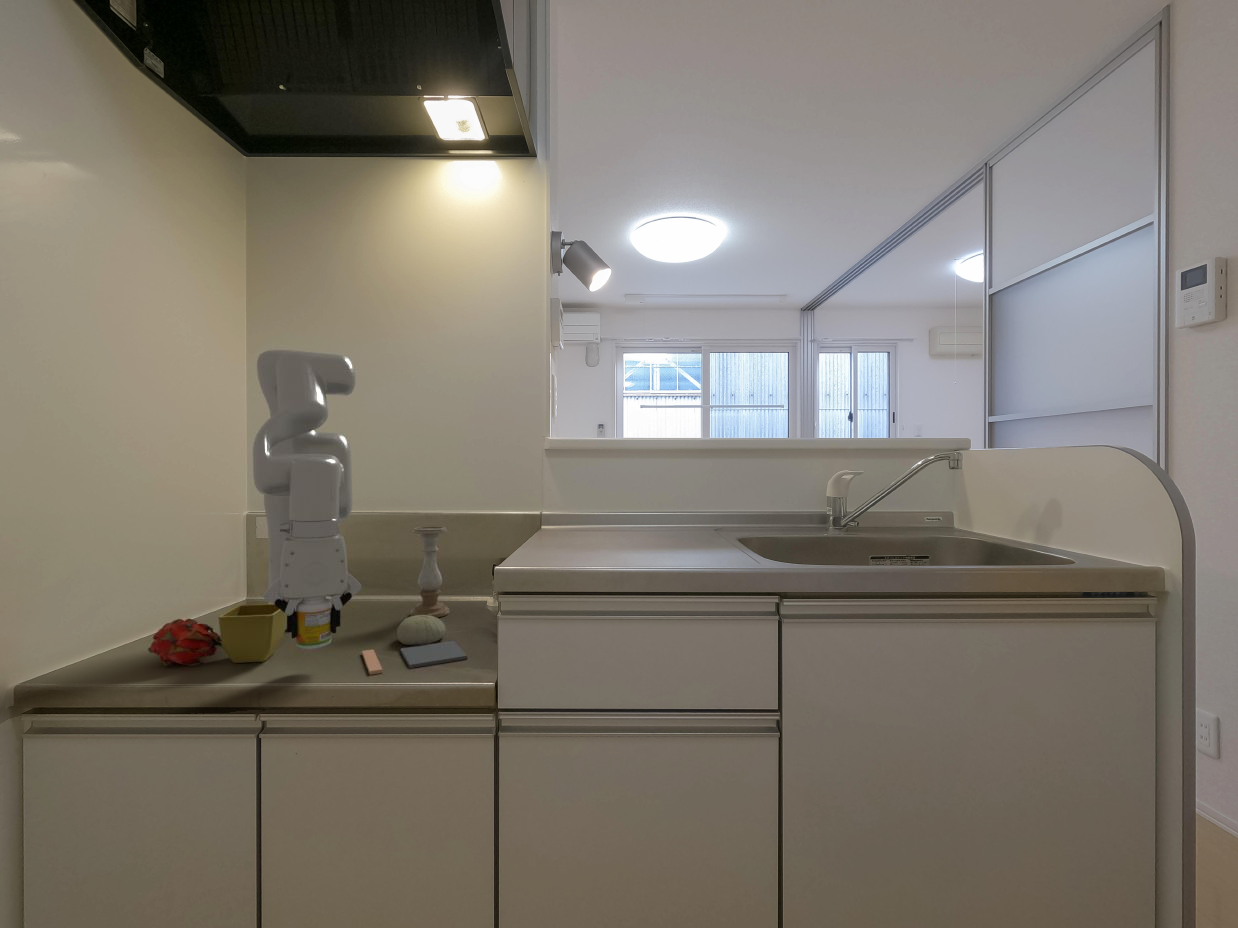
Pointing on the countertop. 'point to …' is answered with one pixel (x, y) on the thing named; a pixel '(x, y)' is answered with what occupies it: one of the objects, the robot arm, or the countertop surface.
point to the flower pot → (252, 632)
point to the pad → (432, 654)
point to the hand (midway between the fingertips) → (313, 632)
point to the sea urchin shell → (420, 630)
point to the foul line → (371, 662)
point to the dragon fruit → (184, 642)
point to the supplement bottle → (313, 623)
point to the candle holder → (430, 575)
